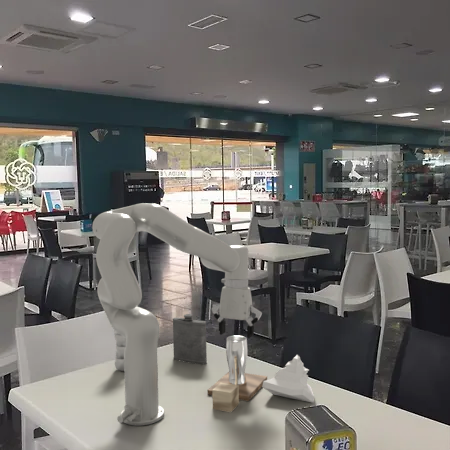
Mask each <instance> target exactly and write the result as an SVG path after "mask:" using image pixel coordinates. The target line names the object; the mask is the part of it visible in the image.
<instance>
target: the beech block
mask: <svg viewBox="0 0 450 450" xmlns="http://www.w3.org/2000/svg"><path fill="white" fill-rule="evenodd" d="M211 396H212V410H214V411H215V410H216V411H217V410H218V411H220V412H221V411H223V412H227V413H232V412H234V410H235V409H236V408H237V407H238V406H239V405H240V400H239V385H233V384H226V383H220V384H218V385H217V386H216V387H215V388H214V389H213V390H212V395H211Z"/></svg>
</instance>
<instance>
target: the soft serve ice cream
mask: <svg viewBox="0 0 450 450" xmlns="http://www.w3.org/2000/svg"><path fill="white" fill-rule="evenodd" d="M309 371H310V369H308V368H306V367H305V366H304V362H302V360H301V357H300V355H299V354H296V355H295V356H294V357H293V358H292V360H290V361H288V362H287V363H286V364H285V366H284V367H282V368H280V369H278V370H277V372H275V374H274V377H272V378H268V379H267V380H266V381H263V386H262V387H261V388H263V389H264V390H266V391H267V392H269V393H270V394H272V395H274V396H277V397H284V398H289V399H293V400H299V401H303V402H307V403H312V404H314V402H315V395H314V394H315V393H314V392H313V387H312V386H311V385H310V384H309V383H308V380H309V379H308V378H309V375H308V372H309Z"/></svg>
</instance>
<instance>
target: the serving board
mask: <svg viewBox="0 0 450 450" xmlns="http://www.w3.org/2000/svg"><path fill="white" fill-rule="evenodd" d="M245 376H246V381H247V383H246V384H245V385H243V386H239V401H246V402H249V401H250V400H251V399H252V398H253V397H254V396H255V395H256V394H257V393H258V391H259V390H261V388H263V387H262V386H263V381H266V380H268V375H260V374H254V373H247V372H245ZM228 379H229V371H228V372H226V373H225V374H224V375H223V376H222V377H221V378H219V379H218V380H216V382H215V383H214V384H213V385H211V386H210V387H209V388H208V389H207V395H209V396H212V390H213V389H214V388H215V387H216V386H217V385H218V384H220V383H226V384H228Z"/></svg>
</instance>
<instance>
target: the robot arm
mask: <svg viewBox="0 0 450 450" xmlns="http://www.w3.org/2000/svg"><path fill="white" fill-rule="evenodd" d="M92 232H93V234H94V236H95V237H96V238H97V239H99V242H98V245H97V247H96V248H97V249H96V254H95V258H96V259H95V260H96V265H97V267H98V271H99V274H100V276H101V278H100V279H99V282H98V284H97V291H96V293H97V296H98V300H99V302H100V304H101V307H102V308H103V311H104V313H105V315H106V318H107V320H108V321H109V324H110V325H111V327H112V329H113V331H114V330H115V331H116V332H117V333H118V334H120V335H122V336H124V337H125V338H126V347H125V351H124V371H123V373H124V401H125V405H124V407H123V408H124V409H123V410H121V412H120V415H118V416H117V418H116V419H117V422H119V423H121V424H122V423H125V424H126V425H130V426H147V425H151V424H154V423H157V422H159V421H161V420H162V419H163V418H164V416H165V410H164V408H163V407H162V406H161V405H160V404H159V371H158V369H159V368H158V365H159V364H158V343H159V337H160V322H159V320H158V318H157V317H156V315H155V314H154V313H153V312H151V311H149V310H148V309H145V308H143V307H140V306H139V305H140V304H141V301H142V298H143V297H142V296H143V292H142V288H141V285H140V284H139V282H138V280H137V277H136V275H135V272H134V270H133V268H132V265H131V262H130V259H129V256H128V254H129V247H130V244H131V243H132V240H133V239H134V237H135V234H136V233H140V232H145V233H149V234H151V235H152V236H154V237H155V238H157V239H159V240H161V241H163V242H165V244H168V245H169V246H171V247H172V248H174V249H176V250H177V251H180V252H182V253H185V254H188V255H192V256H195V257H198V258H200V263H201V264H202V265H203V266H204V267H206V268H207V269H210V270H213V271H220V272H223V273H224V278H222V279H221V280H220V281H221V283H222V284H223V285H224V286H222V288H221V293H220V302H219V304H217V305H215V306H213V307H211V312H212V313H213V317H214V318H215V319H216V320H217V323H218V332H219V335H220V336H221V335H224V334H225V333H226V320H225V319H228V320H229V319H230V320H237V321H246V323H247V326H246V329H247V330H246V331H247V332H246V335H247V336H246V338H247V339H251V338H252V337H253V336H254V333H255V332H254V331H255V324H256V323H257V322H258V321H259V320H260V318H261V317H262V314H263V312H262V311H261V310H259V309H258V308H255V307H254V306H253V300H252V291H251V287H249V248H248V247H247V246H246V245H239V244H234V245H229V244H228V243H226V242H225V241H223V240H221V238H220V239H219V238H217V236H214V235H212V234H210V233H208V232H206V231H204V230H202V229H200V228H199V227H196V226H194V225H192V224H190V223H189V222H187V220H184V219H183V218H181V217H180V216H178V215H176V214H175V213H173V212H172V211H170V210H169V209H167V208H166V207H164V206H162V205H160V204H157V203H146V202H145V203H144V202H142V203H136V204H132V205H129V206H128V205H127V206H124V207H120V208H116V209H112V210H108V211H104V212H101V213H99V214H98V215H97V216H96V217H95V218H94V220H93V222H92ZM218 311H219V312H218ZM253 314H255V317H254V318H253V317H252V316H253Z"/></svg>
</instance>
